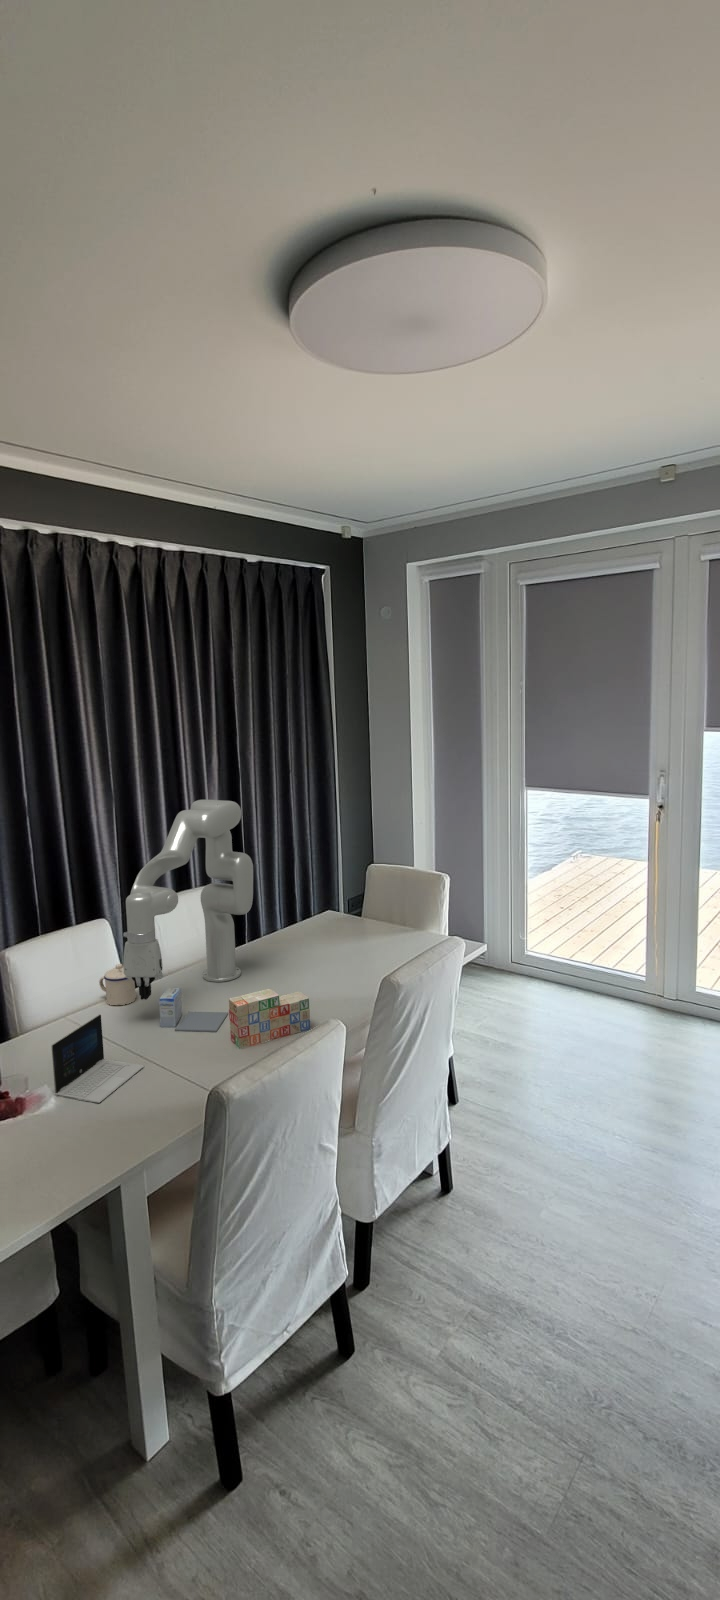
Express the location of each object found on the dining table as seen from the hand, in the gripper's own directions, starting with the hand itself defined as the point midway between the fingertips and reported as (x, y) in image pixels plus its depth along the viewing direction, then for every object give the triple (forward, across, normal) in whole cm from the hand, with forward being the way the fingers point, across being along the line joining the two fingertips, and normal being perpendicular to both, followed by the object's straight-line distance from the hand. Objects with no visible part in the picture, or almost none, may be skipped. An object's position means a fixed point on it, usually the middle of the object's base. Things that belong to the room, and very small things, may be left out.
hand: (145, 997), depth 214 cm
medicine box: (+7, +7, 0) cm, 10 cm away
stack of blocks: (+8, +38, -6) cm, 39 cm away
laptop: (+8, +2, -34) cm, 35 cm away
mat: (+7, +16, 0) cm, 18 cm away
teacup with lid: (+7, -15, +14) cm, 22 cm away
